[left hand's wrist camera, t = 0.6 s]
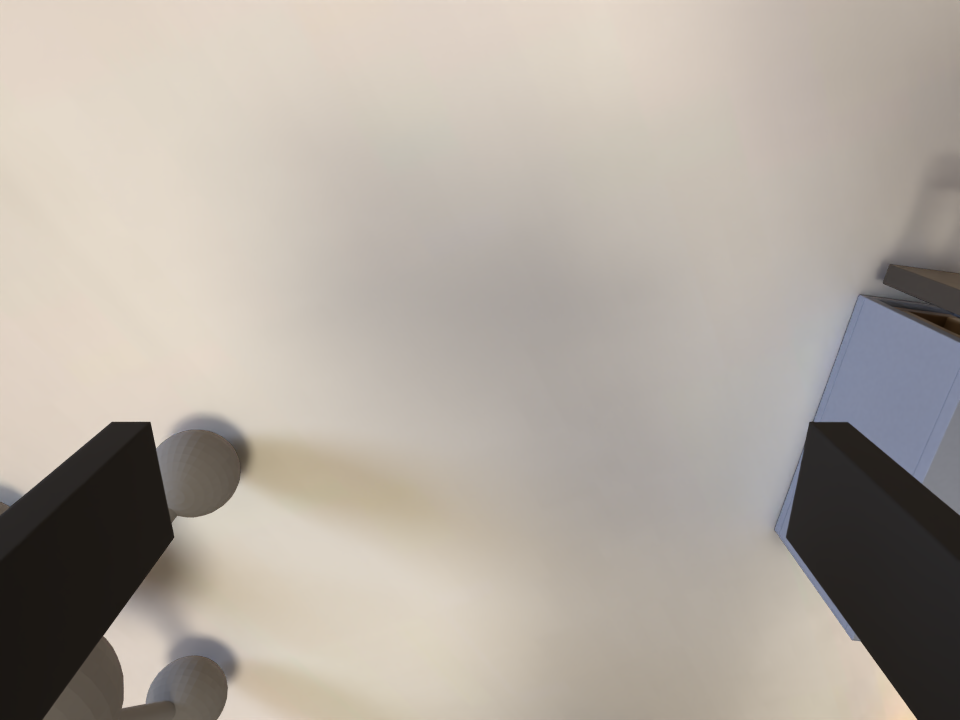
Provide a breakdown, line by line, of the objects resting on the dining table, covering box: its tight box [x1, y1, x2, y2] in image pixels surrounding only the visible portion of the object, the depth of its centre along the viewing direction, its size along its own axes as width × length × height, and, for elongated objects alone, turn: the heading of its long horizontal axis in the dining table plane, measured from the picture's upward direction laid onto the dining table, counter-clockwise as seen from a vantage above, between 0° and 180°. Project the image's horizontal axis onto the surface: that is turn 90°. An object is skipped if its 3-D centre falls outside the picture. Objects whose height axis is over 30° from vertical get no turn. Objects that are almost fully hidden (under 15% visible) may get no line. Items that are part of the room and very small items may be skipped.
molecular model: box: [0, 430, 241, 720], centre depth 32 cm, size 24×22×30 cm
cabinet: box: [775, 295, 960, 641], centre depth 38 cm, size 18×6×10 cm, turn 172°
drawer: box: [883, 264, 960, 338], centre depth 36 cm, size 22×5×8 cm, turn 172°
